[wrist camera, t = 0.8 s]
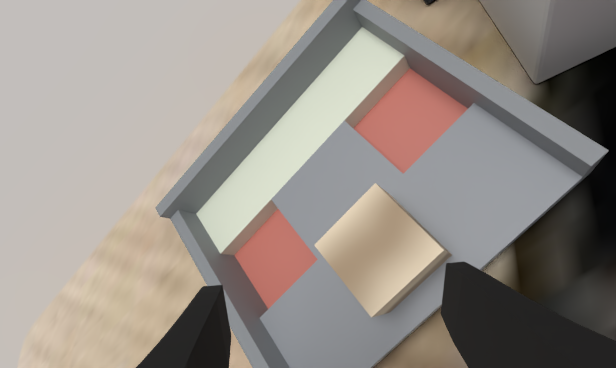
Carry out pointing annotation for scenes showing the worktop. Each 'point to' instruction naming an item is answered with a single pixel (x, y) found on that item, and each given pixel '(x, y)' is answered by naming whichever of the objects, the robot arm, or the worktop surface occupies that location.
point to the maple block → (381, 251)
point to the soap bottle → (554, 32)
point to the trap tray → (362, 182)
